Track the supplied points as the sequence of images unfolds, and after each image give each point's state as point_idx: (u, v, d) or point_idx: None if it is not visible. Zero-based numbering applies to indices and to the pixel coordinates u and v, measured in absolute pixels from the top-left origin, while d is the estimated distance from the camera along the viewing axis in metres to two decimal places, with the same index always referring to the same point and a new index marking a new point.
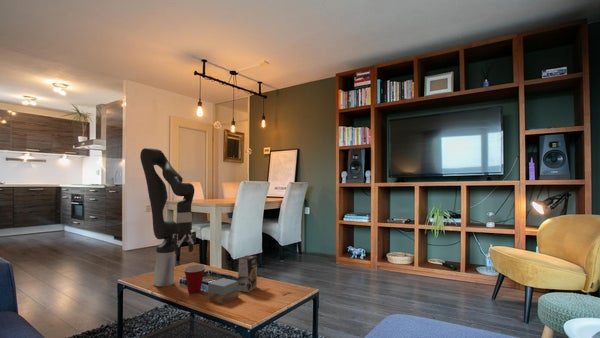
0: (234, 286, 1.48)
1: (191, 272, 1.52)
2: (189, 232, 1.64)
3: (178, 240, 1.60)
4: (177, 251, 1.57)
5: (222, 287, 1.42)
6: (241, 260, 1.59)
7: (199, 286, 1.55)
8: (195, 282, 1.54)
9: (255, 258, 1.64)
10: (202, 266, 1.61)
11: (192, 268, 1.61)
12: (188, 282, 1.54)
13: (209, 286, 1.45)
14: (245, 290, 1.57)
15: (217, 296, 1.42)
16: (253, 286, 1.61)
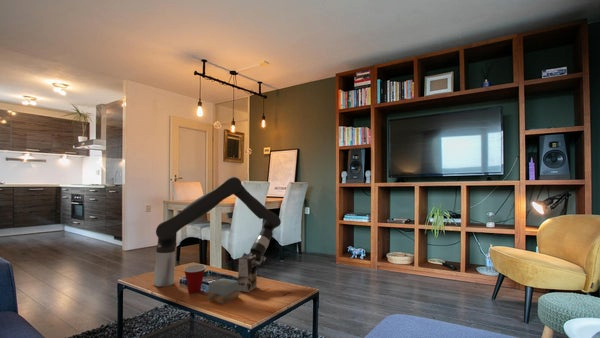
0: (235, 286, 1.48)
1: (191, 272, 1.52)
2: None
3: (255, 260, 1.64)
4: None
5: (224, 287, 1.42)
6: (241, 260, 1.59)
7: (199, 286, 1.55)
8: (195, 282, 1.54)
9: (255, 258, 1.64)
10: (202, 266, 1.61)
11: (192, 268, 1.61)
12: (188, 282, 1.54)
13: (210, 286, 1.45)
14: (245, 290, 1.57)
15: (217, 297, 1.42)
16: (253, 286, 1.61)
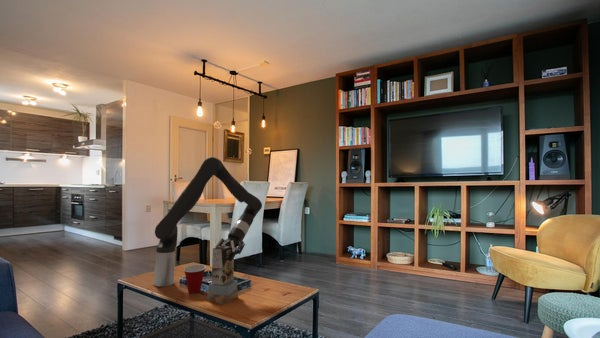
0: (235, 285, 1.48)
1: (191, 272, 1.52)
2: None
3: None
4: None
5: (226, 287, 1.41)
6: (215, 250, 1.45)
7: (199, 286, 1.55)
8: (195, 282, 1.54)
9: (231, 248, 1.50)
10: (202, 266, 1.61)
11: (192, 268, 1.61)
12: (188, 282, 1.54)
13: (210, 287, 1.43)
14: (219, 283, 1.43)
15: (217, 297, 1.42)
16: (228, 279, 1.47)
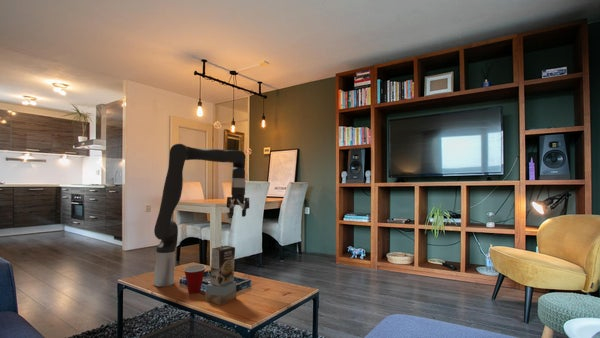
0: (233, 287, 1.46)
1: (191, 272, 1.52)
2: None
3: None
4: None
5: (223, 288, 1.40)
6: (214, 250, 1.44)
7: (199, 286, 1.55)
8: (195, 282, 1.54)
9: (231, 249, 1.47)
10: (202, 266, 1.61)
11: (192, 268, 1.61)
12: (188, 282, 1.54)
13: (208, 287, 1.43)
14: (216, 283, 1.42)
15: (215, 297, 1.41)
16: (227, 280, 1.45)
